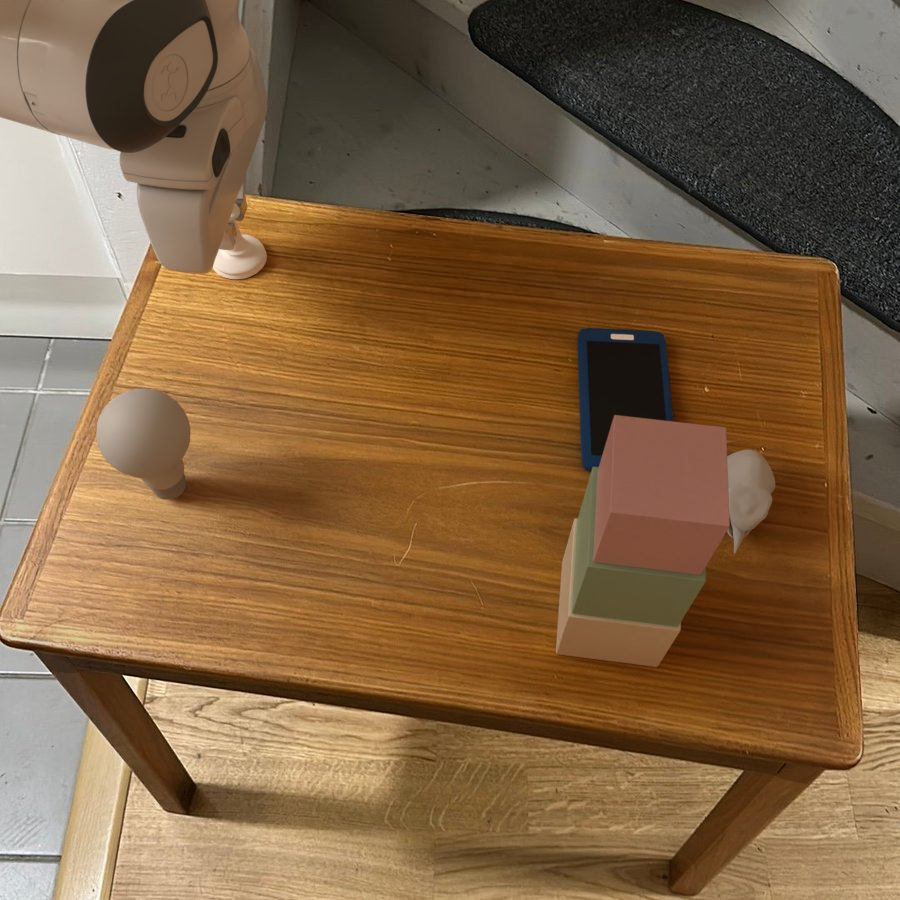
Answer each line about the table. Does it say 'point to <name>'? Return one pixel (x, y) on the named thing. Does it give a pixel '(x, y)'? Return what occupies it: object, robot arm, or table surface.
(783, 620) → the table surface
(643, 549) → the block stack
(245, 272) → the chess piece
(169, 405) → the lightbulb
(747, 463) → the figurine
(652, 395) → the cell phone
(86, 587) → the table surface
